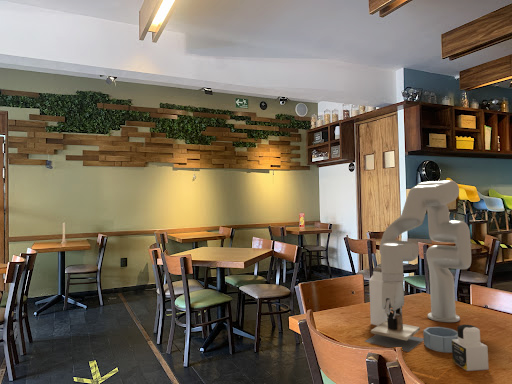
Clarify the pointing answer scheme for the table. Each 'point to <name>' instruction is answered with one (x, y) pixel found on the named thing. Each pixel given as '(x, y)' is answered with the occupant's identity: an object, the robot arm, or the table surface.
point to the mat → (395, 342)
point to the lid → (401, 333)
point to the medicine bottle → (469, 349)
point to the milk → (376, 299)
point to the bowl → (439, 338)
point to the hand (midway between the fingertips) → (395, 326)
